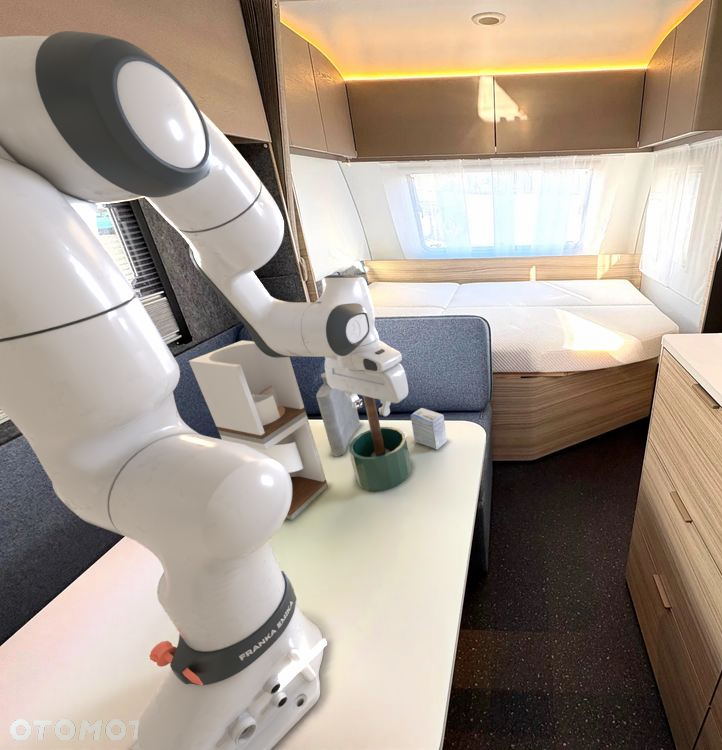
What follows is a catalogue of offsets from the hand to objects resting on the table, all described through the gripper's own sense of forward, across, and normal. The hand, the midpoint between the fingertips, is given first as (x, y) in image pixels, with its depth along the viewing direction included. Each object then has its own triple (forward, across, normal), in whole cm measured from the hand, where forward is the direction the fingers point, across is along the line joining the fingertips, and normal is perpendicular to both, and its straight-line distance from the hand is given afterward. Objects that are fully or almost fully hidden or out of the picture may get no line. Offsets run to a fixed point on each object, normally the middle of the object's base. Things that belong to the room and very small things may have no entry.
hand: (371, 410), depth 85 cm
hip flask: (+18, -20, +7) cm, 27 cm away
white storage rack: (+18, -14, -15) cm, 27 cm away
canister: (+17, 0, 0) cm, 17 cm away
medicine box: (+18, +3, +15) cm, 23 cm away
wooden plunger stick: (+17, 0, 0) cm, 17 cm away
